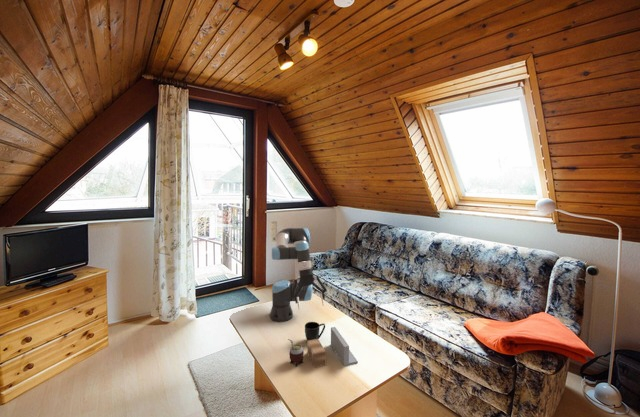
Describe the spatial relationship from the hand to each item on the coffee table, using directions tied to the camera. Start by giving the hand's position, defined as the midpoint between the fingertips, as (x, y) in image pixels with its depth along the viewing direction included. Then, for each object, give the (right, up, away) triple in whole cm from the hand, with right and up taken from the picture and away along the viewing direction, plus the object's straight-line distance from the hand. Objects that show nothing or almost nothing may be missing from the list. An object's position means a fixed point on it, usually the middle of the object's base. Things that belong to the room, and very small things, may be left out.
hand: (311, 307), depth 161 cm
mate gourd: (-7, -22, -18) cm, 29 cm away
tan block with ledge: (+3, -21, -15) cm, 26 cm away
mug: (+2, -20, +2) cm, 20 cm away
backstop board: (+17, -21, -10) cm, 29 cm away
